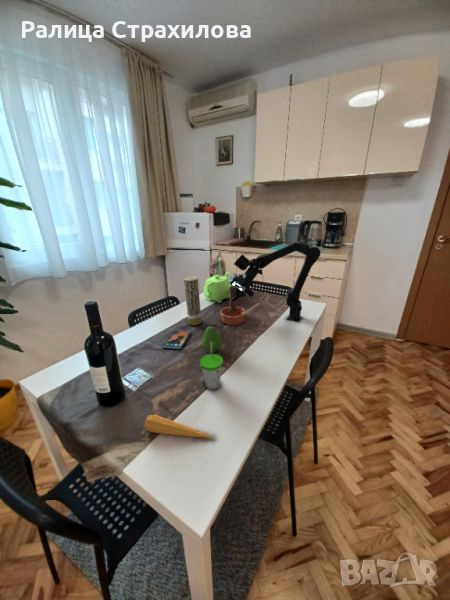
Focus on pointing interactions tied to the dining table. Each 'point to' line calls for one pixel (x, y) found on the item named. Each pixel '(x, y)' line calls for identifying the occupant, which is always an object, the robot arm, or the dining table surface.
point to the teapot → (217, 288)
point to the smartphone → (177, 339)
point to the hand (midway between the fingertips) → (230, 300)
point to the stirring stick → (233, 304)
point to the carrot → (170, 427)
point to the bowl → (232, 316)
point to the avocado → (211, 339)
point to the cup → (211, 369)
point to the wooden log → (192, 300)
